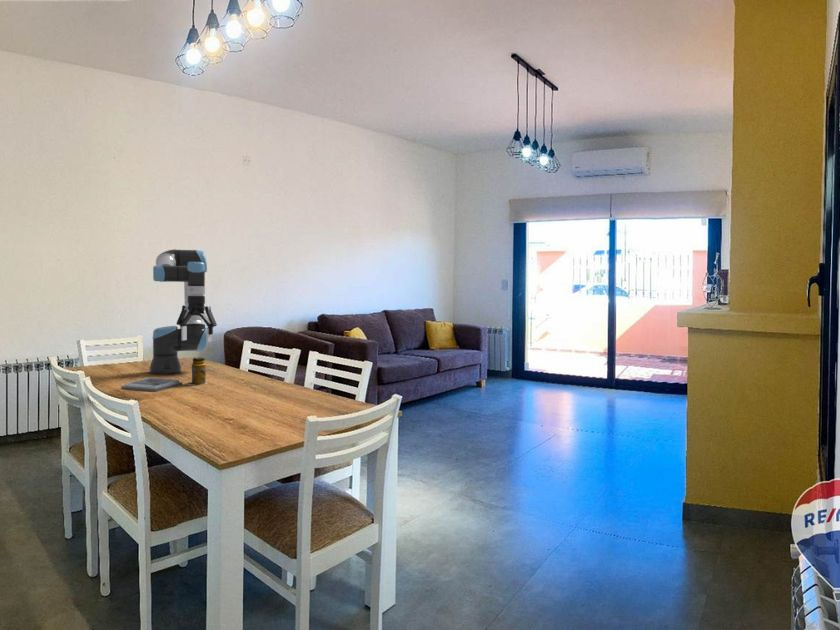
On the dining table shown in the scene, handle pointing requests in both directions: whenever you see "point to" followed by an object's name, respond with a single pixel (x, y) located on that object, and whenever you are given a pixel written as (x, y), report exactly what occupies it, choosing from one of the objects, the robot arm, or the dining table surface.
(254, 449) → the dining table surface
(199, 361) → the condiment
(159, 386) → the grey square tray
